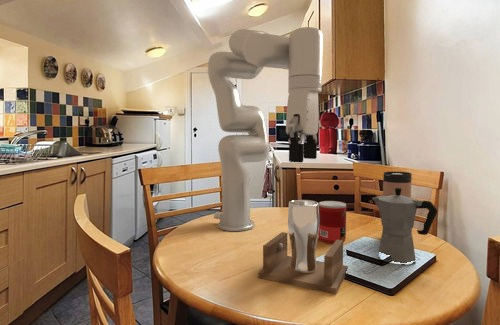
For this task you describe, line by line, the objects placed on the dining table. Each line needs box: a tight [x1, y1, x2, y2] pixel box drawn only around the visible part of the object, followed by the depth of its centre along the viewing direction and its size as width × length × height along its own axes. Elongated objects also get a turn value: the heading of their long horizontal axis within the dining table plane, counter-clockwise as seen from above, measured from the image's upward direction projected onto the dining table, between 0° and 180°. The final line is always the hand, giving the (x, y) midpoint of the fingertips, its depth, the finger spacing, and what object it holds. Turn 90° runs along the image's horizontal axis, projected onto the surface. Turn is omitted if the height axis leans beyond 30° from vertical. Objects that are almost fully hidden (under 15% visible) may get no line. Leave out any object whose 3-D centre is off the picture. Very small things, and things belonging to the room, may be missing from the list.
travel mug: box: [382, 171, 413, 198], centre depth 94 cm, size 8×8×20 cm
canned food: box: [318, 200, 347, 244], centre depth 95 cm, size 8×8×11 cm
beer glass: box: [287, 199, 319, 274], centre depth 71 cm, size 7×7×15 cm
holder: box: [257, 231, 349, 295], centre depth 71 cm, size 17×12×7 cm
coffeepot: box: [371, 188, 438, 263], centre depth 79 cm, size 15×9×18 cm, turn 43°
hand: (303, 160), depth 75 cm, fingers open, 9 cm apart
